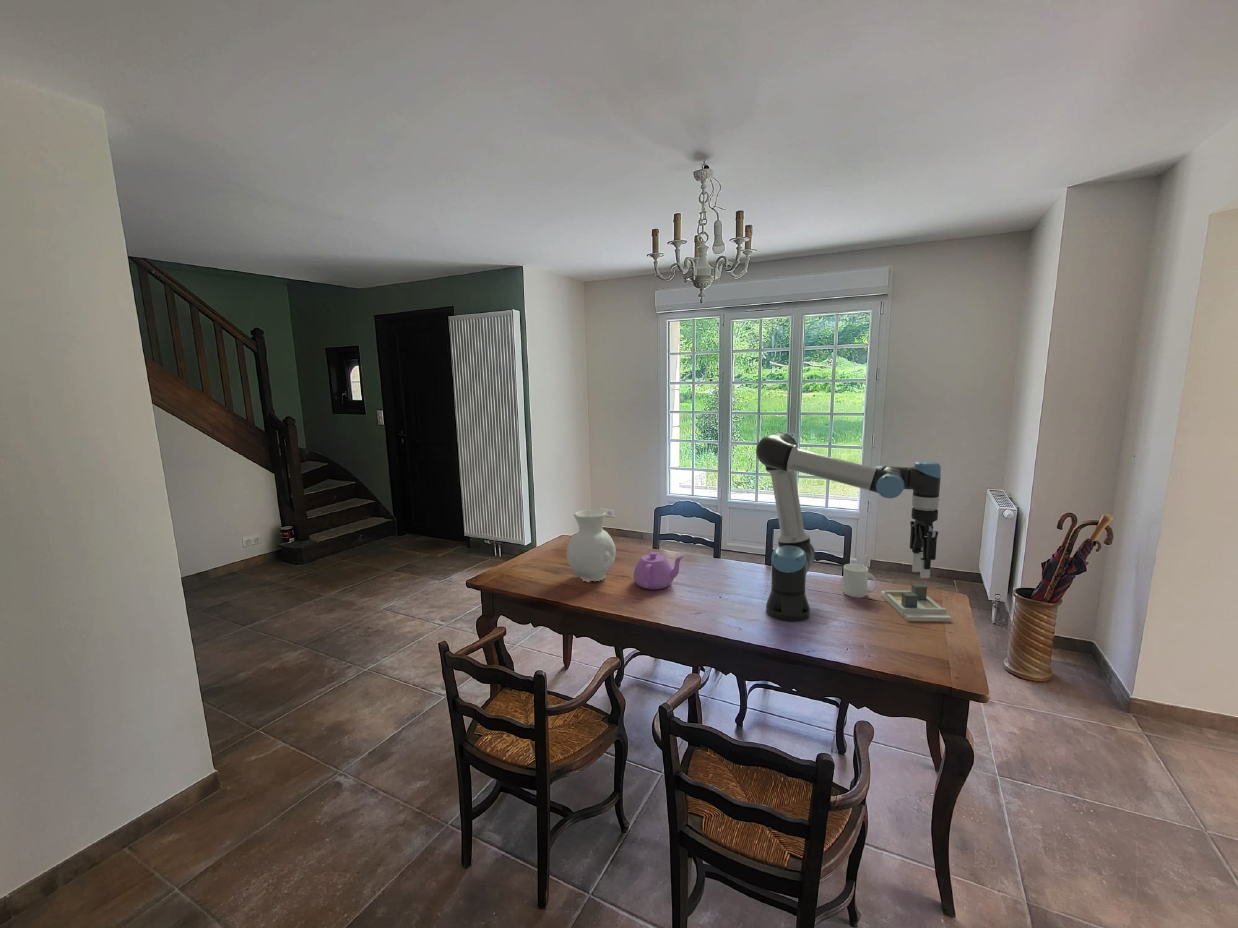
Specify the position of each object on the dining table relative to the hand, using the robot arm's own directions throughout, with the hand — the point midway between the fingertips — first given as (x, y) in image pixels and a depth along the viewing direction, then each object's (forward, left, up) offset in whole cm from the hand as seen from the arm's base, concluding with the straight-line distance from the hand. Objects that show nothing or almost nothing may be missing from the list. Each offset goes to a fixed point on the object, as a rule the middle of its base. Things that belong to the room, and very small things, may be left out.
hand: (920, 574), depth 171 cm
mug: (-11, +21, -17) cm, 30 cm away
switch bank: (+4, +10, -17) cm, 20 cm away
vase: (-118, +36, -17) cm, 125 cm away
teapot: (-89, +30, -17) cm, 96 cm away
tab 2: (+7, +14, -15) cm, 22 cm away
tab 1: (0, +6, -15) cm, 16 cm away
